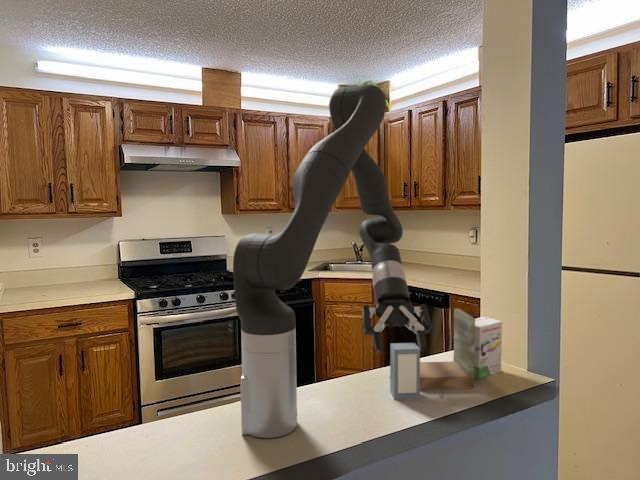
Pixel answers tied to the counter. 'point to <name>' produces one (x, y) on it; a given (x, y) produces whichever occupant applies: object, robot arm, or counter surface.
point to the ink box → (487, 347)
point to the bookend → (463, 364)
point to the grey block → (404, 371)
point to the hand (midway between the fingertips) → (401, 350)
